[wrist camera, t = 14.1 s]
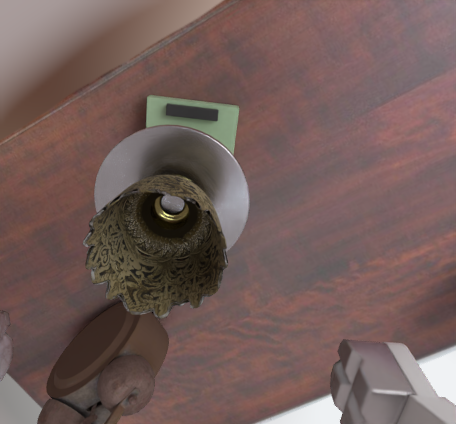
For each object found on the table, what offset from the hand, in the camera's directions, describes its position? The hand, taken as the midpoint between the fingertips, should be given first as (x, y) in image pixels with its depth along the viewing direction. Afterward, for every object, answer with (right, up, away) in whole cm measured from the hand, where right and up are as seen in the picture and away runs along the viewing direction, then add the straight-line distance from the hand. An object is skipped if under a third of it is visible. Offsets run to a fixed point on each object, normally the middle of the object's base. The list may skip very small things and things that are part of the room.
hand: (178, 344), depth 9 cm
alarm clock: (-13, -12, +45) cm, 48 cm away
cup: (-3, +4, +18) cm, 18 cm away
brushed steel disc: (-3, +5, +19) cm, 20 cm away
